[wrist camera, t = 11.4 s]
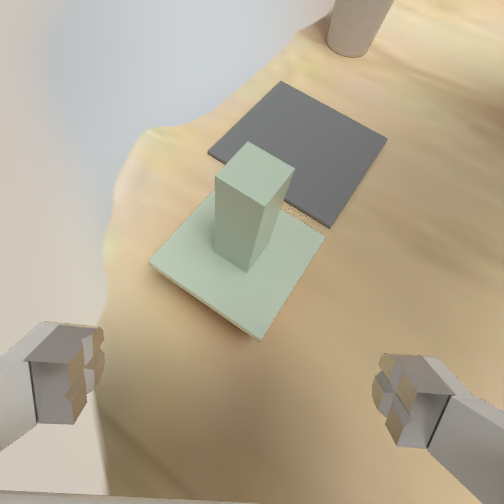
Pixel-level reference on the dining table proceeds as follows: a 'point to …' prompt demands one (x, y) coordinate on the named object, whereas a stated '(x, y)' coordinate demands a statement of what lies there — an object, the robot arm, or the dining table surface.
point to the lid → (241, 243)
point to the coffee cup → (355, 25)
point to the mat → (307, 148)
